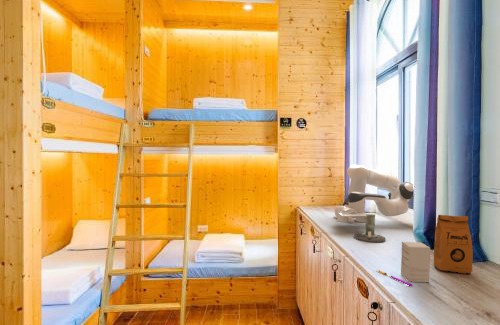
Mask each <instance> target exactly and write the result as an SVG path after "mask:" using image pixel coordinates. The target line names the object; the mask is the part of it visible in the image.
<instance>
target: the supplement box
mask: <svg viewBox="0 0 500 325" xmlns="http://www.w3.org/2000/svg"><path fill="white" fill-rule="evenodd" d="M400 257H401V258H400V259H401V260H400V263H401V264H400V274H401V276H402V277H403V278H404V277H405V278H406V279H407V280H408V281H407V280H406V281H407V282H409V281H412V282H411V283H426V282H429V283H430V271H431V270H430V268H431V247H430V246H428V245H426V244H424V243H423V242H421V241H419V242H416V241H401V256H400ZM405 278H404V279H405Z"/></svg>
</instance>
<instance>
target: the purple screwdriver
mask: <svg viewBox="0 0 500 325" xmlns="http://www.w3.org/2000/svg"><path fill="white" fill-rule="evenodd" d="M377 270H378V271H379V272H381V273H382V275H383V274H384V275H383V276H385V275H386V276H388V277H390V278H391V277H392V278H393V280H395V279H396V280H395V281H397V280H398V281H397V282H399V281H401V282H403V283H402V284H404V283H405V284H407V285H409V286H408V287H410V286H413V287H414V285H413V283H412V282H411V283H410V282H409V281H407V280H406V281H405V280H403V279H400V278H398V277H396V276H393V275H388V274H387V272H385V271H381V270H379V269H377ZM379 272H378V273H379ZM381 273H380V274H381ZM392 278H391V279H392ZM401 282H400V283H401Z"/></svg>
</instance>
